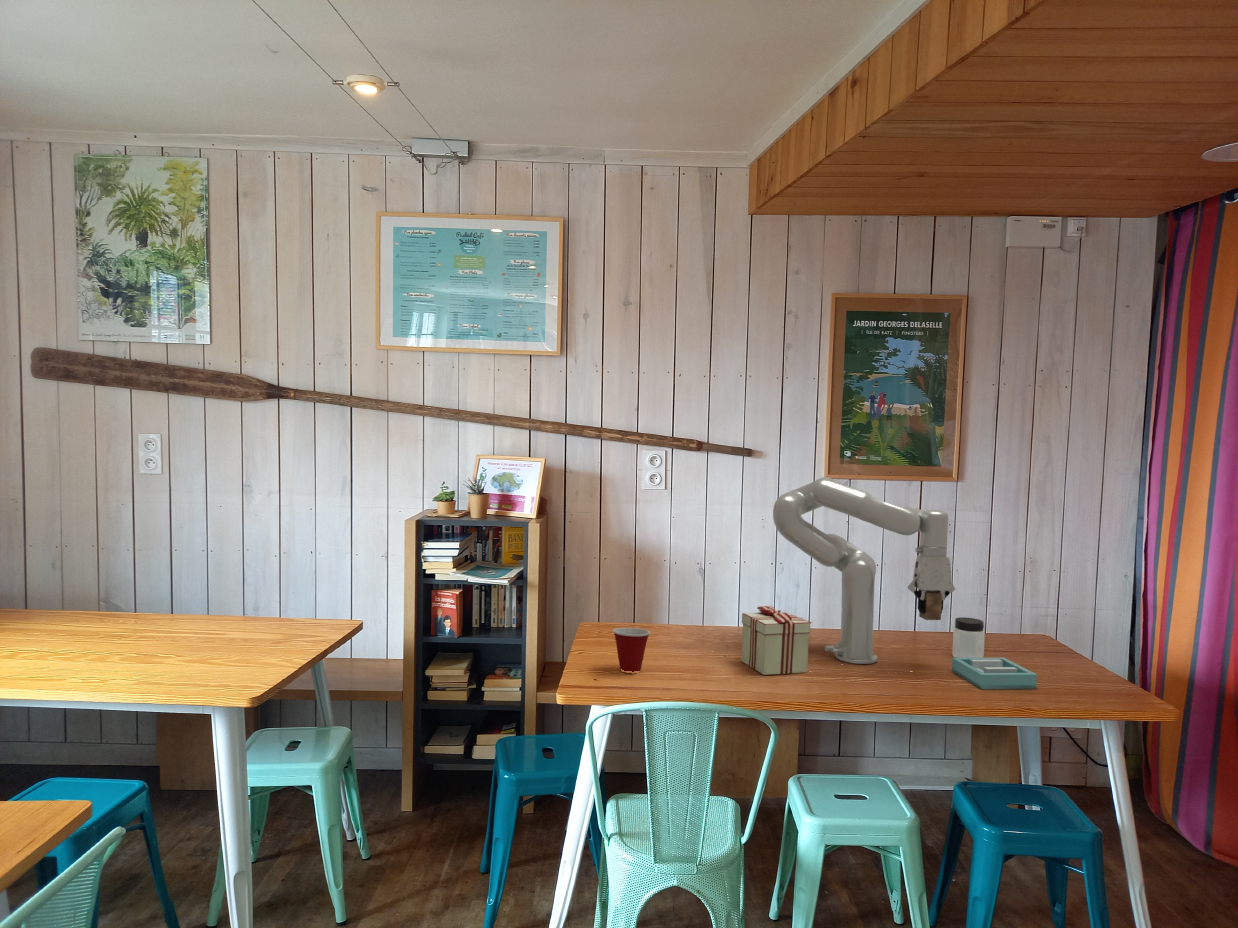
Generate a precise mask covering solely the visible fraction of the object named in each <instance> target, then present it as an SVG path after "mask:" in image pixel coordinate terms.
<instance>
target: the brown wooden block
mask: <svg viewBox="0 0 1238 928" xmlns="http://www.w3.org/2000/svg"><path fill="white" fill-rule="evenodd" d="M925 600H926V607H925V614H924V613H921V612H919V611H918V613H919V614H918V615H919V617H920V618H921V619H923V620H925V621H941V620H942V614H941V605H942V593H940V592H938V591H926V595H925Z"/></svg>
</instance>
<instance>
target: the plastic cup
mask: <svg viewBox="0 0 1238 928" xmlns="http://www.w3.org/2000/svg"><path fill="white" fill-rule="evenodd" d="M612 632H613V634H614V638H615V643H616V650H617V658H618V664H619V669H622V670H624V671H632V672H634V671H640V672H641V670H642V666H643V665H642V664H643V660H644V655H645V651H646V645H647V642H648V639H649V636H650V634H651V631H649V630H647V629H643V628H638V627H637V628H636V627H617V628H613V629H612Z"/></svg>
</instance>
